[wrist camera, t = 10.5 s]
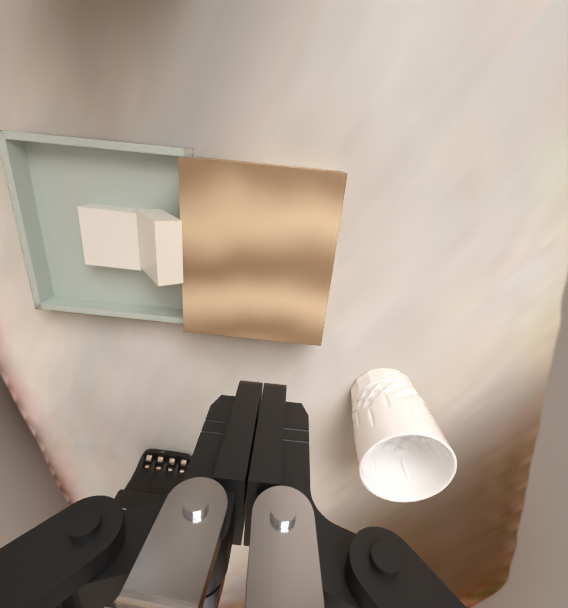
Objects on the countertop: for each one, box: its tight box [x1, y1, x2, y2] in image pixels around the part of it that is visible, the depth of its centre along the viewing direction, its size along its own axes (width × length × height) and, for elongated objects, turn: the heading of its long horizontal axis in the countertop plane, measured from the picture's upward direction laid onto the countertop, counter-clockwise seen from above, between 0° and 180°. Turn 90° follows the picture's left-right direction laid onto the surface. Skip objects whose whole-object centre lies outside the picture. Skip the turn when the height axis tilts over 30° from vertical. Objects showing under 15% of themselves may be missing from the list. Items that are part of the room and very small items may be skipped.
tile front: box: [136, 209, 183, 286], centre depth 27 cm, size 5×5×2 cm
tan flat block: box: [178, 157, 347, 346], centre depth 29 cm, size 14×12×5 cm
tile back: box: [77, 204, 143, 271], centre depth 30 cm, size 5×5×2 cm
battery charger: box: [115, 449, 192, 510], centre depth 37 cm, size 7×4×11 cm, turn 83°
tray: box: [0, 130, 193, 324], centre depth 30 cm, size 15×15×2 cm
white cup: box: [351, 368, 457, 502], centre depth 32 cm, size 8×8×10 cm
